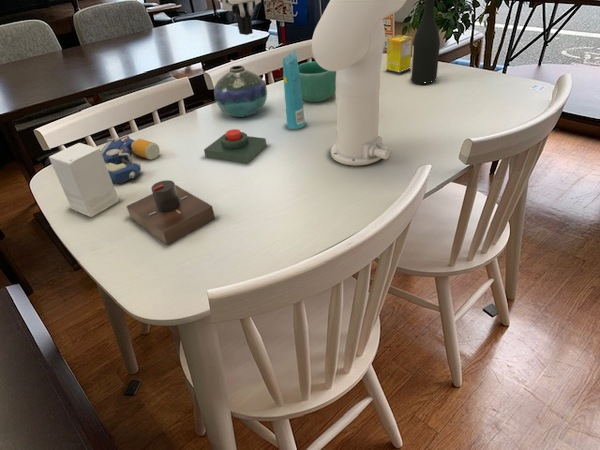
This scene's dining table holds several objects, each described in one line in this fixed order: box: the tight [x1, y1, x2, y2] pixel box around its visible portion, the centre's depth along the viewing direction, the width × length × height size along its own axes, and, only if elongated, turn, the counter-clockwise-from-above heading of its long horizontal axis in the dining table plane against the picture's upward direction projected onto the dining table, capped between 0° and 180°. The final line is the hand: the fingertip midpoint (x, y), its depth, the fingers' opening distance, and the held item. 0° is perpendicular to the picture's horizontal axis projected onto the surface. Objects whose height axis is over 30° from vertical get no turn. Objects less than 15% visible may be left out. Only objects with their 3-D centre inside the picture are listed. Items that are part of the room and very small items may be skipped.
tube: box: [282, 49, 306, 130], centre depth 119 cm, size 7×5×19 cm, turn 162°
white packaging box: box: [48, 142, 120, 218], centre depth 94 cm, size 7×7×13 cm
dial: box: [150, 179, 180, 212], centre depth 88 cm, size 4×4×5 cm
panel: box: [126, 184, 216, 246], centre depth 90 cm, size 14×11×3 cm
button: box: [225, 128, 242, 141], centre depth 111 cm, size 4×4×2 cm
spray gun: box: [100, 134, 160, 184], centre depth 111 cm, size 21×4×15 cm
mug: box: [298, 60, 336, 103], centre depth 139 cm, size 17×13×10 cm
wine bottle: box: [410, 0, 441, 86], centre depth 137 cm, size 8×8×30 cm
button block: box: [203, 131, 268, 165], centre depth 113 cm, size 12×10×4 cm
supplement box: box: [386, 34, 413, 75], centre depth 153 cm, size 6×6×11 cm
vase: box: [213, 65, 268, 118], centre depth 131 cm, size 15×15×13 cm
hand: (246, 33), depth 109 cm, fingers closed
